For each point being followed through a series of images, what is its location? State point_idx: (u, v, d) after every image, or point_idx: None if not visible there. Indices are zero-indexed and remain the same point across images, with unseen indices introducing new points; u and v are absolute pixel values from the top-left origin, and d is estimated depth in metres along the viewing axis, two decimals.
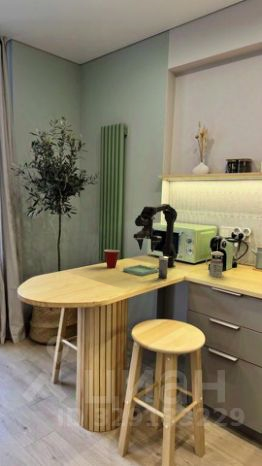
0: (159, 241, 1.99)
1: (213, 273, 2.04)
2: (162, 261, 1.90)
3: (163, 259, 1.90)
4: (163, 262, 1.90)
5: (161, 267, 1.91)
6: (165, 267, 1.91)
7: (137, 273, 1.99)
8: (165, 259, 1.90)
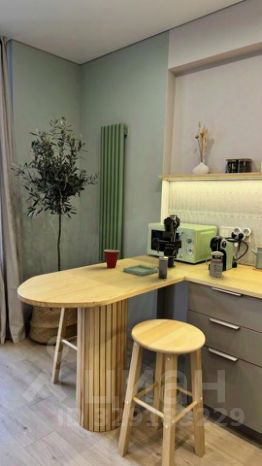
0: None
1: (213, 273, 2.04)
2: (162, 261, 1.90)
3: (163, 259, 1.90)
4: (163, 262, 1.90)
5: (161, 267, 1.91)
6: (165, 267, 1.91)
7: (137, 273, 1.99)
8: (165, 259, 1.90)
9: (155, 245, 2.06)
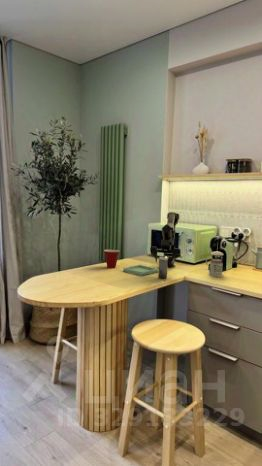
0: (178, 256, 1.98)
1: (213, 273, 2.04)
2: (162, 261, 1.90)
3: (163, 259, 1.90)
4: (163, 262, 1.90)
5: (161, 267, 1.91)
6: (165, 267, 1.91)
7: (137, 273, 1.99)
8: (165, 259, 1.90)
9: (153, 254, 2.00)
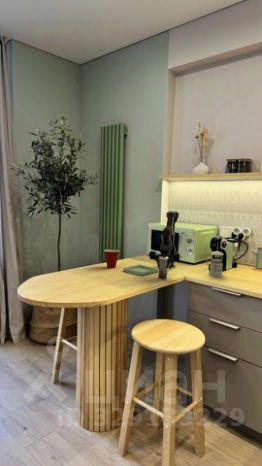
0: (174, 261, 1.96)
1: (213, 273, 2.04)
2: (162, 261, 1.90)
3: (163, 259, 1.90)
4: (163, 262, 1.90)
5: (161, 267, 1.91)
6: (165, 267, 1.91)
7: (137, 273, 1.99)
8: (165, 259, 1.90)
9: (155, 258, 1.97)
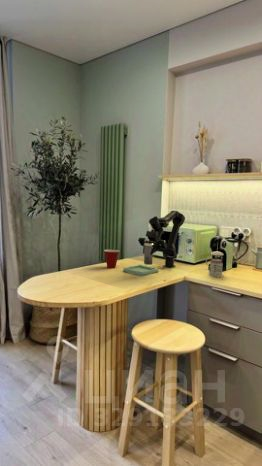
0: None
1: (213, 273, 2.04)
2: (146, 247, 1.97)
3: (147, 245, 1.97)
4: (147, 248, 1.97)
5: (145, 253, 1.98)
6: (149, 253, 1.97)
7: (137, 273, 1.99)
8: (149, 245, 1.96)
9: None
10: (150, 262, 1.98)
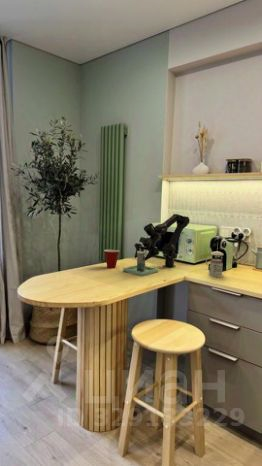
0: (155, 254, 2.04)
1: (213, 273, 2.04)
2: (138, 254, 2.05)
3: (138, 253, 2.04)
4: (138, 255, 2.04)
5: (137, 260, 2.06)
6: (140, 260, 2.04)
7: (137, 273, 1.99)
8: (140, 253, 2.04)
9: None
10: (142, 269, 2.05)
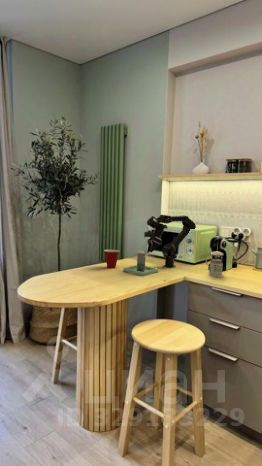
0: (159, 243, 2.08)
1: (213, 273, 2.04)
2: (138, 254, 2.05)
3: (138, 253, 2.04)
4: (139, 255, 2.04)
5: (137, 260, 2.06)
6: (140, 260, 2.04)
7: (137, 273, 1.99)
8: (140, 253, 2.04)
9: None
10: (142, 269, 2.05)
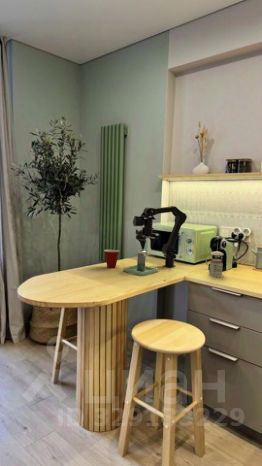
0: (142, 240, 2.10)
1: (213, 273, 2.04)
2: (138, 254, 2.05)
3: (139, 253, 2.04)
4: (139, 255, 2.04)
5: (137, 260, 2.06)
6: (141, 260, 2.04)
7: (137, 273, 1.99)
8: (140, 253, 2.04)
9: None
10: (142, 269, 2.05)
